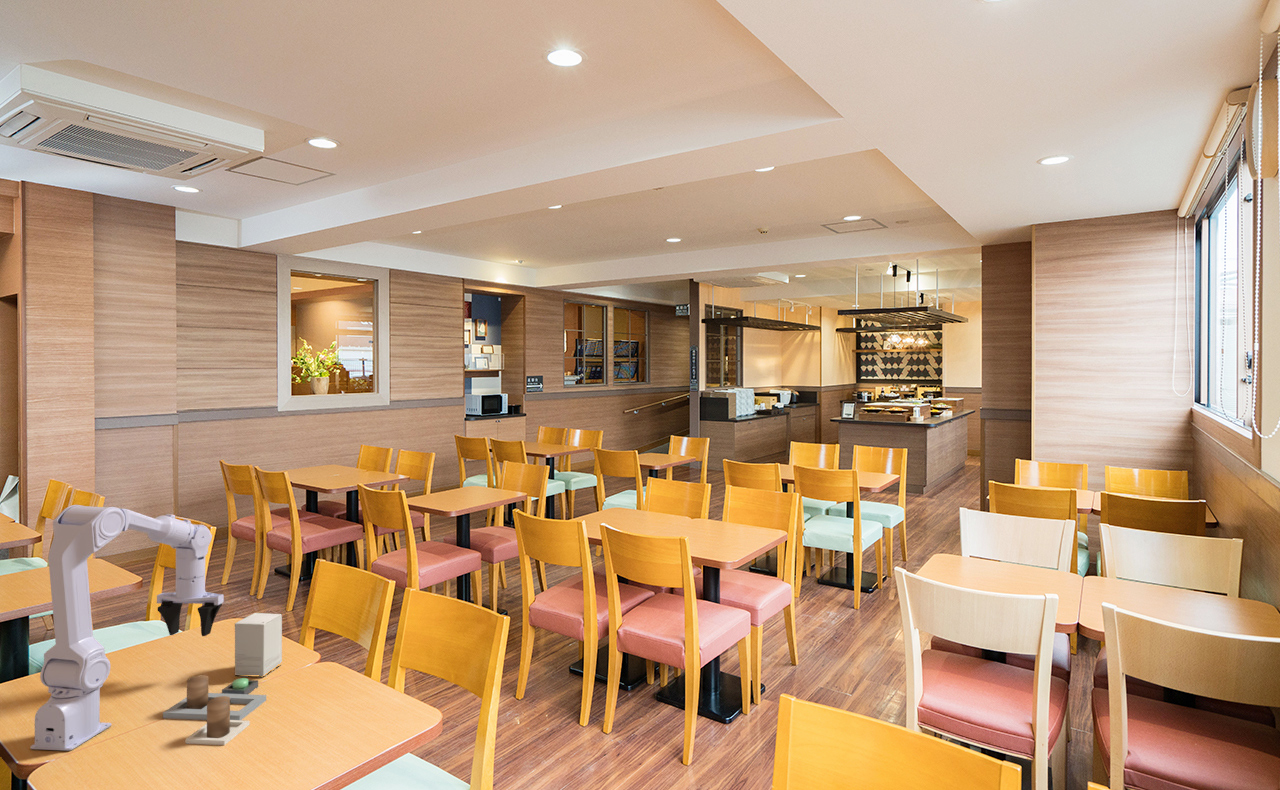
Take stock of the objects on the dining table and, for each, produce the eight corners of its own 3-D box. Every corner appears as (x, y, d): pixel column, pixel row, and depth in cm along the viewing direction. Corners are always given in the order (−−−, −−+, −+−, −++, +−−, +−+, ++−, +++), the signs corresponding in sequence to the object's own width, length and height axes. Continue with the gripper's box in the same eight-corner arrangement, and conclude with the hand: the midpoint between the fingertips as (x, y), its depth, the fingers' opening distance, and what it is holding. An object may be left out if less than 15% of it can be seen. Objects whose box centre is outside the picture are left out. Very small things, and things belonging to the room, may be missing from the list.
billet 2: (221, 739, 129) (221, 705, 129) (202, 738, 129) (202, 704, 129) (234, 729, 133) (234, 696, 133) (215, 728, 133) (215, 695, 133)
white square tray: (224, 747, 127) (224, 740, 127) (185, 745, 128) (185, 739, 128) (249, 726, 135) (249, 720, 135) (212, 725, 135) (212, 719, 135)
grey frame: (239, 723, 136) (239, 715, 136) (162, 719, 137) (163, 712, 137) (266, 702, 145) (266, 695, 145) (194, 699, 146) (194, 692, 146)
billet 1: (200, 714, 139) (200, 683, 139) (182, 714, 139) (182, 683, 139) (212, 706, 143) (212, 675, 143) (195, 705, 143) (195, 675, 143)
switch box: (244, 698, 146) (244, 690, 146) (221, 697, 147) (221, 689, 147) (258, 688, 151) (258, 680, 151) (236, 687, 152) (236, 679, 152)
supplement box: (283, 665, 164) (283, 613, 164) (263, 678, 157) (263, 624, 156) (254, 663, 165) (255, 611, 164) (233, 676, 157) (233, 622, 157)
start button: (242, 692, 147) (242, 684, 147) (229, 691, 148) (229, 683, 147) (251, 686, 150) (251, 678, 150) (238, 685, 151) (238, 677, 150)
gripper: (232, 571, 160) (231, 628, 160) (172, 570, 161) (172, 626, 161) (212, 580, 153) (211, 640, 153) (150, 578, 153) (149, 638, 154)
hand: (190, 634), depth 157 cm, fingers open, 7 cm apart
